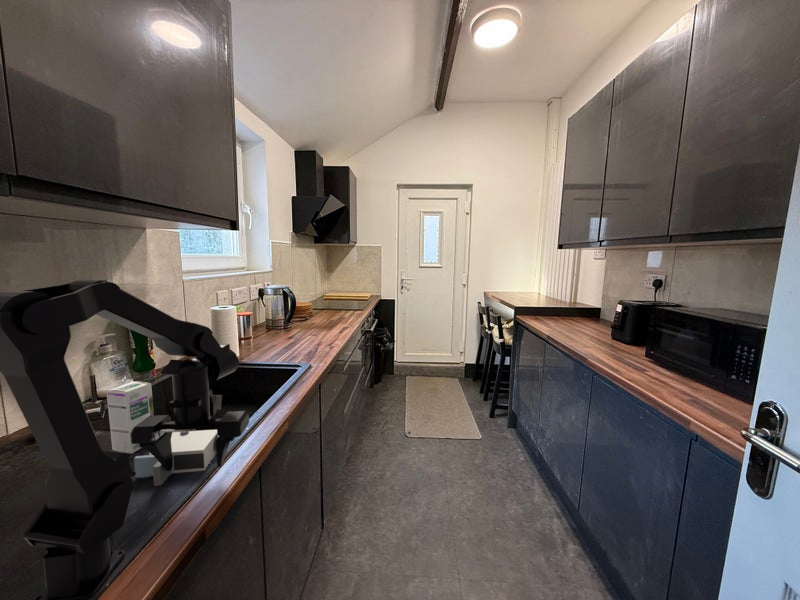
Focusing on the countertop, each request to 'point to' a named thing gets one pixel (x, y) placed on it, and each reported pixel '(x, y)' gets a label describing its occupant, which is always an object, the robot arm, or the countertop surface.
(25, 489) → the countertop surface
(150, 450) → the robot arm
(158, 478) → the grey l-shaped block
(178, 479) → the countertop surface
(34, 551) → the countertop surface
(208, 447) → the camera housing
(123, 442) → the syrup box
